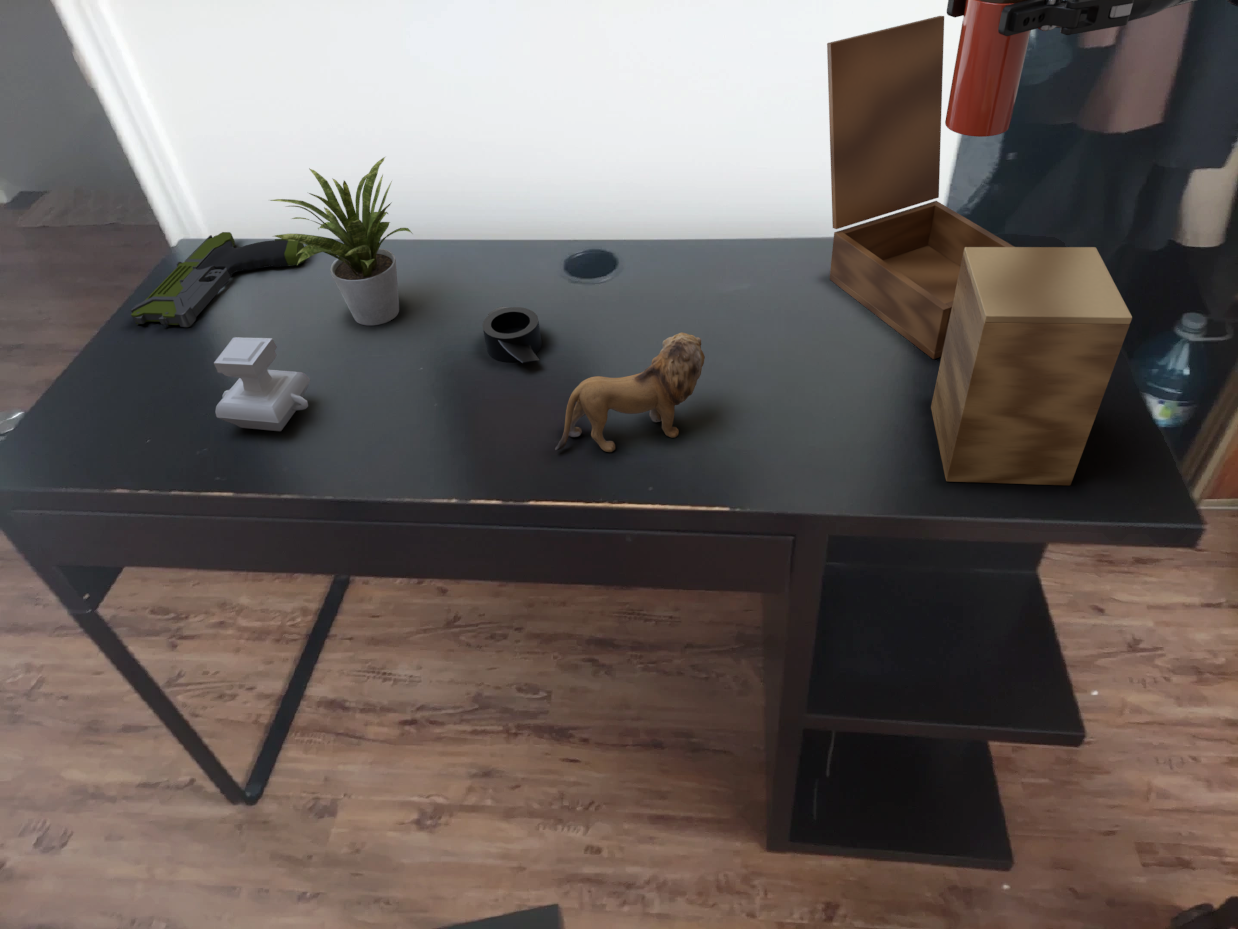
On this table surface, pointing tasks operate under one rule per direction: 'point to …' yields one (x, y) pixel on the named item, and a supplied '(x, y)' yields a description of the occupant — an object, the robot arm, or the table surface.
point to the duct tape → (512, 334)
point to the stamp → (258, 386)
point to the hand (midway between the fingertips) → (976, 12)
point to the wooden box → (908, 268)
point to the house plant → (355, 249)
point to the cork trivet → (1044, 285)
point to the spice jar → (985, 72)
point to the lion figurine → (638, 391)
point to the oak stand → (1018, 394)
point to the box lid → (885, 119)
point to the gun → (209, 277)
